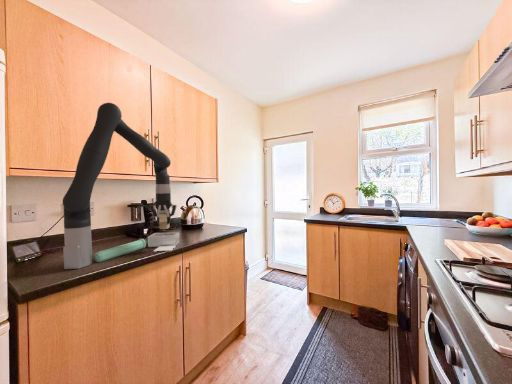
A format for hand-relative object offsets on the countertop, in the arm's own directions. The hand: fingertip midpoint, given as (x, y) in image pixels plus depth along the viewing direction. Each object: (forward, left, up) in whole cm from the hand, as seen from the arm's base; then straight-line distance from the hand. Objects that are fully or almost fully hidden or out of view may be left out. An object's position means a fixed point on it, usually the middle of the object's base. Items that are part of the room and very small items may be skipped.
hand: (164, 223), depth 120 cm
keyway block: (+11, +4, -14) cm, 18 cm away
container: (-7, +20, -15) cm, 25 cm away
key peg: (0, 0, -3) cm, 3 cm away
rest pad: (0, 0, -14) cm, 14 cm away
